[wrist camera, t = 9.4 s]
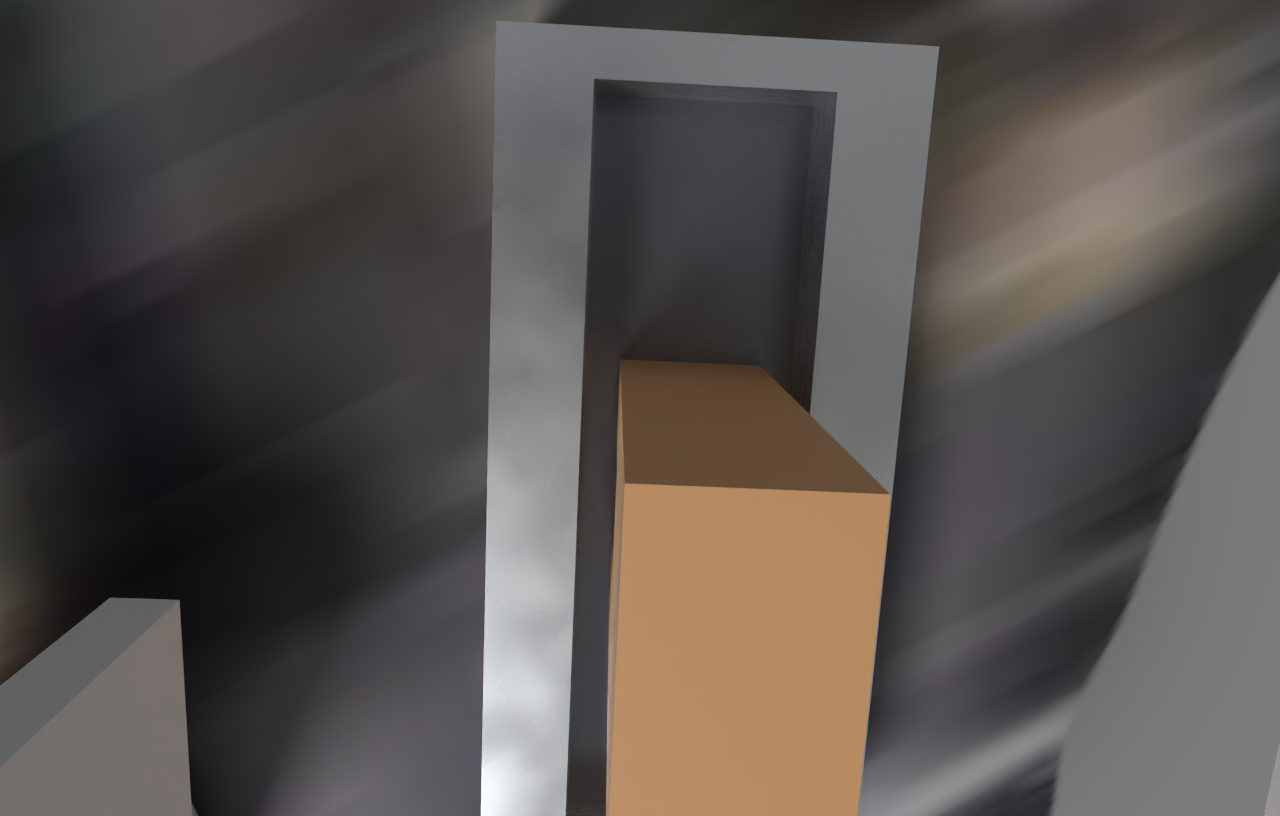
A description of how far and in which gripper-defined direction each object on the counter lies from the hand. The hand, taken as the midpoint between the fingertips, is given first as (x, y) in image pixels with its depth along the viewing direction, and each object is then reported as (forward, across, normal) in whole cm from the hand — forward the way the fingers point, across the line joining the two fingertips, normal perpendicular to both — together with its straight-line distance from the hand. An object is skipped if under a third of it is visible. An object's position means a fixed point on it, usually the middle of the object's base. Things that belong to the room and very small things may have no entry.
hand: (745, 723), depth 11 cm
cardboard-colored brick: (+12, 0, -1) cm, 12 cm away
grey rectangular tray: (+14, 0, -1) cm, 14 cm away
